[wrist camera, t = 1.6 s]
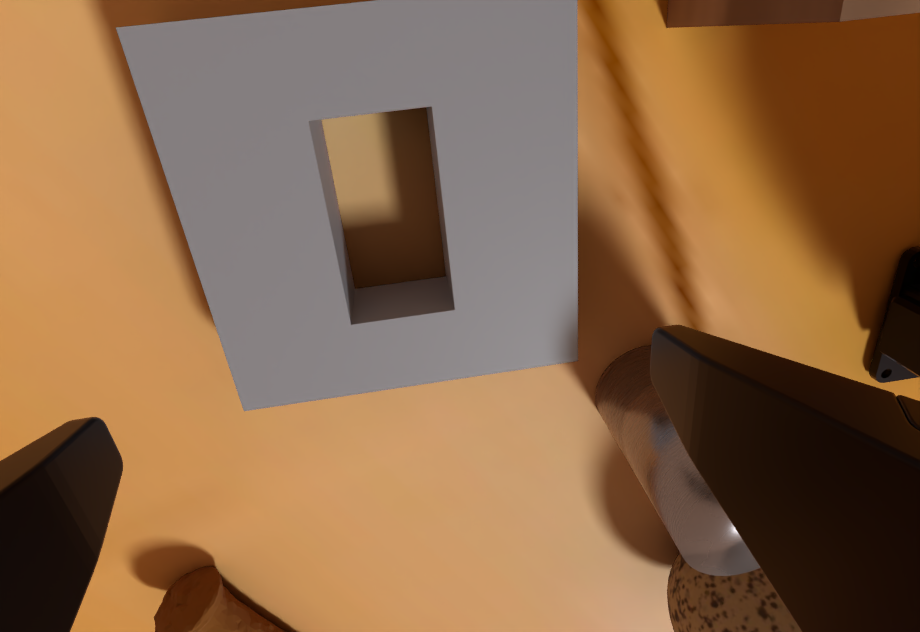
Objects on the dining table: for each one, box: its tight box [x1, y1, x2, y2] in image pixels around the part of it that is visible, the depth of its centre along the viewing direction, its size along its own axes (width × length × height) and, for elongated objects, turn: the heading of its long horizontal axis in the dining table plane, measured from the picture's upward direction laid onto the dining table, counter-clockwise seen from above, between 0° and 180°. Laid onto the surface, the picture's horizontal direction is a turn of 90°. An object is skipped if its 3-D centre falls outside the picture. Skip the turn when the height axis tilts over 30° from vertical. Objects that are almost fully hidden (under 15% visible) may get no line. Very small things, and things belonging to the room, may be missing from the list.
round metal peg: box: [595, 345, 760, 576], centre depth 22 cm, size 4×4×8 cm
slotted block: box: [116, 0, 578, 411], centre depth 19 cm, size 12×12×3 cm
